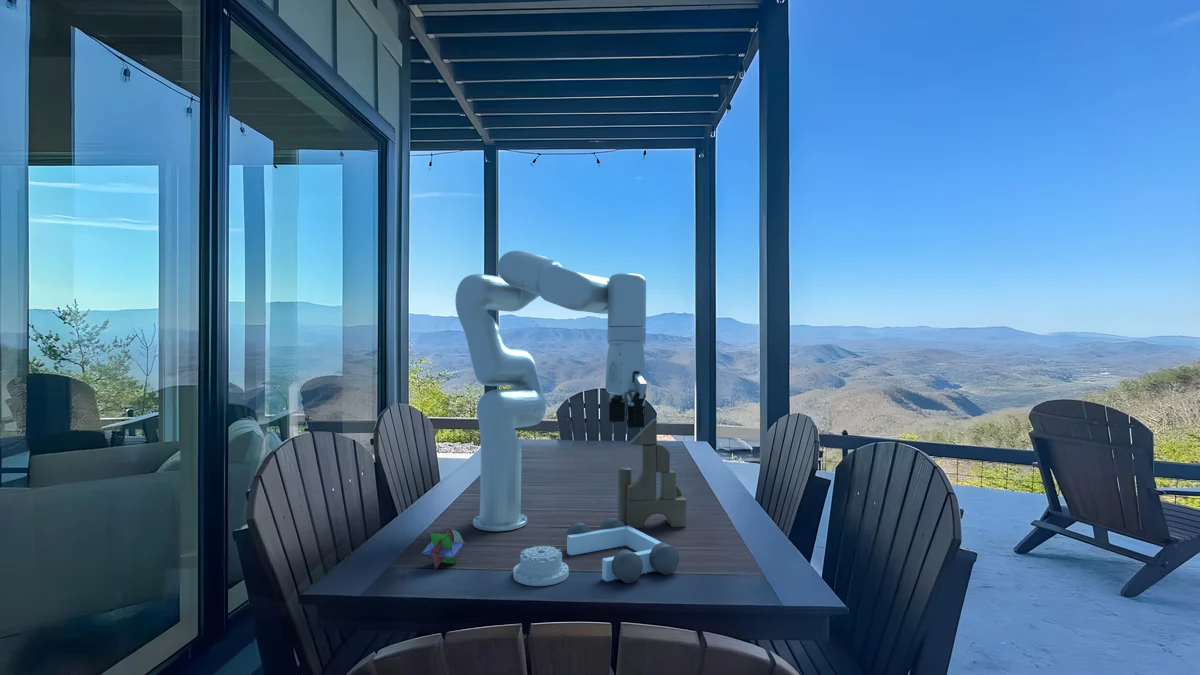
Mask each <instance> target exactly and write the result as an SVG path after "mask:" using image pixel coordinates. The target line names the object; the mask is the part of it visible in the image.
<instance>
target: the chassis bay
mask: <svg viewBox="0 0 1200 675" xmlns="http://www.w3.org/2000/svg"><path fill="white" fill-rule="evenodd" d="M599 528H600V529H599V530H594V531H593V529H592V528H591V527H590V526H588V525H586V524H585V523H584V522H581V521H579V522H578V521H577V522H575V523H572V524H571V525H570V526H569V528H568V529H567V531H566V533H565V534H566V535H565V537H566V554H567V555H569V556H570V555H571V556H574V555H575V556H576V555H581V554H584V553H585V554H587V553H591V552H597V551H602V550H607V549H608V550H609V549H613V548H619V546H620V547H624V546H626V547H628V548H630V549H632V550H634V552H633V551H631V550H629V549H621V550H620V551H618V552H616V554H615V555H614V556H610V557H603V558H602V560H601V568H602V569H601V579H602V580H603V581H605V582H611V581H616V580H621V581H622V582H623V583H626V584H632V583H635V582H637V580H638V579H639V578H640V577H641V575H643V573H644V574H648V573H647V572H649V573H652V571H653V572H658V573H660V574H661V575H664V576H668V575H671V574H672V573H675V571H676V569H677V568H678V567H679V563H680V553H679V551H678V549H677V548H675V547H673V546H672V545H670V544H668V543H666V542H661V541H660V540H658V539H656V538H654V537H652V536H650V535H648V534H646V533H644V532H642V531H640V530H638V529H637V528H632V527H630V526H627V525H626V523H623V522H622V521H620V520H618V518H616V517H607V518H606V519H605V520H604V521H603V522H602V523H601V526H600V527H599ZM615 579H616V580H615ZM631 582H632V583H631Z"/></svg>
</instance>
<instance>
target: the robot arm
mask: <svg viewBox="0 0 1200 675" xmlns="http://www.w3.org/2000/svg"><path fill="white" fill-rule="evenodd" d="M496 269H497V273H498V275H499V276H498V275H492V274H491V275H490V274H484V273H483V274H482V273H476V274H470V275H467V276H465V277H464V278H462V280H460V282H459V284H458V286H457V289H456V293H455V310H456V313H457V316H458V320H459V322H460V325H461V326H462V329H463V331H464V334H465V337H466V338H465V339H466V342H467V346H468V352H469V355H470V359H471V363H472V367H473V372H474V375H475V378H476V380H477V381H478V383H479V384H481V385H482V386H483V385H484V386H489V387H498V386H499V387H501V386H503V387H504V386H505V387H507V386H510V387H511V388H499V389H492V390H489V391H486V392H485V393H483V395H481V397H480V398H479V399H478V402H477V405H476V414H477V415H476V416H477V420H478V421H477V422H478V425H479V434H480V484H479V492H480V493H479V515H477V516H475V517H474V518H473V519H472V526H473V527H474V528H475V529H477V530H480V531H481V530H482V531H487V532H507V531H512V530H518V529H521V528H523V527H525V525H527V523H528V516H527V515H525V514H523V513H521V512H522V511H521V509H522V508H521V507H522V506H521V504H522V502H521V501H522V444H521V441H520V439H519V436H518V435H517V432H516V430H515V429H519V428H525V427H526V428H527V427H531V426H532V427H533V426H536V425H538V424H539V423H540V422H542V421H543V419H544V418H545V415H546V409H547V405H546V404H547V403H546V398H545V393H544V391H543V386H542V384H541V379H540V375H539V371H538V368H537V365H536V361H535V359H534V358H533V356H532V355H531V353H530V352H529V351H527V350H526V349H523V348H521V347H520V348H519V347H507V346H506V344H505V341H504V339H503V336H502V331H501V329H500V326H499V324H498V323H497V322H496V320H495V319H494V318H493V316H492V315H491V314H490V313H489V312H488V310H490V311H499V312H500V311H501V312H512V313H513V312H516V311H517V312H518V311H521V309H523V308H525V307H526V306H528V305H529V304H530V303H531V302H533V301H535V300H536V299H537V298H538V297H540V298H542V299H543V300H544V301H545V302H548V303H550V304H552V305H556V306H559V307H561V308H564V309H567V310H572V311H576V312H586V313H594V314H599V315H600V314H601V315H602V314H603V315H607V345H608V349H607V356H606V368H605V369H606V370H605V372H606V373H605V390H606V393H608V394H609V396H608V402H609V403H608V410H609V411H608V421H609V422H611V423H619V422H621V423H622V422H625V420H626V427H627V428H629V429H631V428H632V429H636V428H644V427H645V406H646V400H645V399H646V398H647V395H646V392H647V387H648V383H647V382H646V362H645V348H644V347H645V345H646V344H647V342H646V339H647V336H646V335H647V333H646V332H647V326H646V325H647V320H646V319H647V282H646V281H647V280H646V278H645V276H644V275H642V274H638V273H635V272H633V273H632V272H621V273H620V272H619V273H615V274H613V275H611V276H610V277H609V278H608V277H603V276H598V275H595V274H587V273H584V272H578V271H575V270H570V269H566V268H564V267H563V266H562V264H561V263H560V262H559V261H557V260H554V259H550V258H548V257H547V256H544V255H542V254H538V253H537V254H536V253H533V252H532V253H531V252H527V251H524V250H523V251H522V250H511V251H507V252H506V253H504V254H503V255H502V256H501V257H500V258H499V259H498V262H497V267H496ZM625 395H626V398H627V401H628V405H626V402H625V401H623V400H624V398H625ZM626 406H627V409H626V408H625V407H626ZM625 410H627V414H626V413H625V412H626V411H625ZM625 417H627V419H625Z"/></svg>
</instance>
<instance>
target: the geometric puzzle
mask: <svg viewBox="0 0 1200 675" xmlns="http://www.w3.org/2000/svg"><path fill="white" fill-rule="evenodd" d="M437 531H439V529H438V530H437V529H436V532H435V531H429V532H428V533H429V535H430V536H429V538H428V537H427V538H426V540H428V539H429V544H428V545H426V543H427V542H425V544H424V545H426V547H424V549H423V550H422V551H421V553H420V555H422V556H425V557H426V558H425V559H426V561H428V559H427V558H429V559H431V560H432V561H433V562H432V563H433V565H431V566H432V567H434V570H439V569H441V566H443V565H445V564H450V565H457V561H458V559H459V558H457V560H456V555H457V553H458V551H459V550H461V549H462V548H461V547H463V546H464V544H465V541H464V540H463V537H462V535H461V533H460V532H459V531H457V530H455V529H453V528H452V527H449V528H445V531H444V532H446V533H444V532H440V533H439V532H437ZM460 554H461V553H459V554H458V556H460ZM429 555H430V556H431V557H430V556H429ZM441 563H443V564H441ZM440 564H441V565H440ZM439 565H440V566H439ZM446 567H448V566H447V565H446V566H445V568H446Z"/></svg>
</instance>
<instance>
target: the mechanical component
mask: <svg viewBox="0 0 1200 675" xmlns="http://www.w3.org/2000/svg"><path fill="white" fill-rule="evenodd" d="M519 558H520V559H519V560H520V561H519V563H517V564H516V565H515V566H514V567H513V569H512V571H513V572H512V574H513V580H514V581H515V582H517V583H519V584H523V585H526V586H530V587H531V586H532V587H544V586H545V587H547V586H551V585H556V584H559V583H562V582H564V581H565V580H567V579H568V577H569V575H570V569H569V566H568V564H567V563H565V562H563V553H562V551H561V549H558V548H556V547H555V546H550V545H548V546H546V545H541V546H533V547H530V548H525V549H523V550H522V551H521V552H520V555H519Z"/></svg>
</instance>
